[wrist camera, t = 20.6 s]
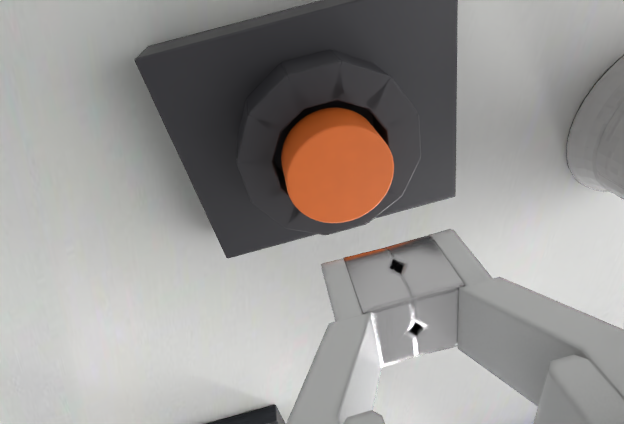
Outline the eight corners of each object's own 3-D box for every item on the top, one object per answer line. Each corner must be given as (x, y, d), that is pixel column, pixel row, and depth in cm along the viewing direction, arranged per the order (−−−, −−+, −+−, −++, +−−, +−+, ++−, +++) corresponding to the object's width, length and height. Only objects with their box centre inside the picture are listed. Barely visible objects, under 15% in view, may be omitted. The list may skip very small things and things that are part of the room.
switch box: (228, 231, 19) (225, 287, 16) (146, 46, 14) (118, 72, 11) (435, 174, 19) (475, 218, 16) (431, -29, 14) (488, -26, 11)
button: (294, 208, 15) (300, 235, 13) (269, 122, 13) (272, 143, 11) (383, 184, 15) (398, 208, 13) (372, 94, 13) (389, 111, 11)
